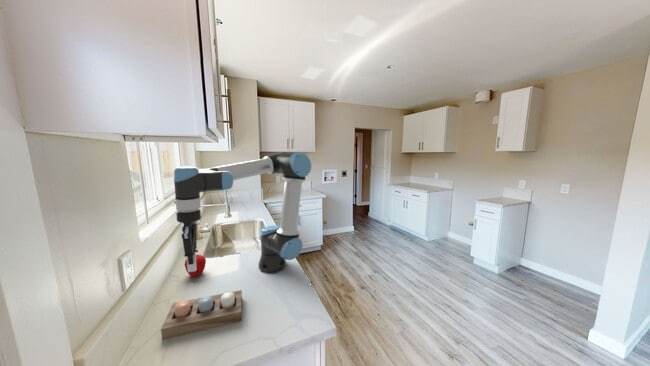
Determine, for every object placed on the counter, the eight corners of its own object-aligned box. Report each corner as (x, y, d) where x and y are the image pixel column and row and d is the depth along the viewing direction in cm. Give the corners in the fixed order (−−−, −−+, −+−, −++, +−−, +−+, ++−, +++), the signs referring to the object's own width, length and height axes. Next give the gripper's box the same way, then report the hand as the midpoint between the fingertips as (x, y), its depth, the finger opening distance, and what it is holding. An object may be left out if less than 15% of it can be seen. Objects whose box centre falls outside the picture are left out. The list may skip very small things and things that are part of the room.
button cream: (222, 304, 93) (221, 293, 92) (235, 301, 94) (234, 291, 94) (221, 312, 88) (220, 301, 87) (234, 309, 90) (234, 298, 89)
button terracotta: (177, 313, 88) (176, 302, 87) (192, 310, 89) (191, 299, 88) (173, 323, 83) (172, 310, 82) (189, 319, 85) (188, 307, 84)
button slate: (200, 309, 90) (199, 297, 89) (214, 306, 92) (213, 295, 91) (198, 317, 86) (197, 305, 85) (212, 314, 87) (211, 303, 86)
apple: (210, 272, 120) (209, 253, 119) (193, 281, 112) (191, 261, 110) (199, 267, 125) (197, 249, 123) (181, 276, 116) (179, 256, 115)
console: (174, 311, 91) (173, 303, 91) (241, 298, 100) (241, 290, 99) (162, 339, 78) (160, 329, 78) (241, 320, 87) (240, 311, 86)
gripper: (181, 206, 86) (184, 264, 89) (171, 215, 74) (175, 281, 77) (203, 205, 89) (206, 261, 92) (196, 213, 76) (200, 278, 80)
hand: (192, 270), depth 84 cm, fingers closed
